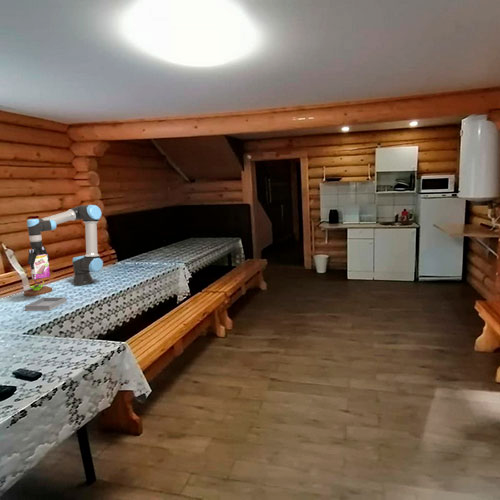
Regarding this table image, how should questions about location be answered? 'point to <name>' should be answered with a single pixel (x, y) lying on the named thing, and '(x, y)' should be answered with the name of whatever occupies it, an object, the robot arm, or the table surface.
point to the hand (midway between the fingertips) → (40, 271)
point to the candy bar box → (41, 267)
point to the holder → (45, 304)
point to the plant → (37, 290)
